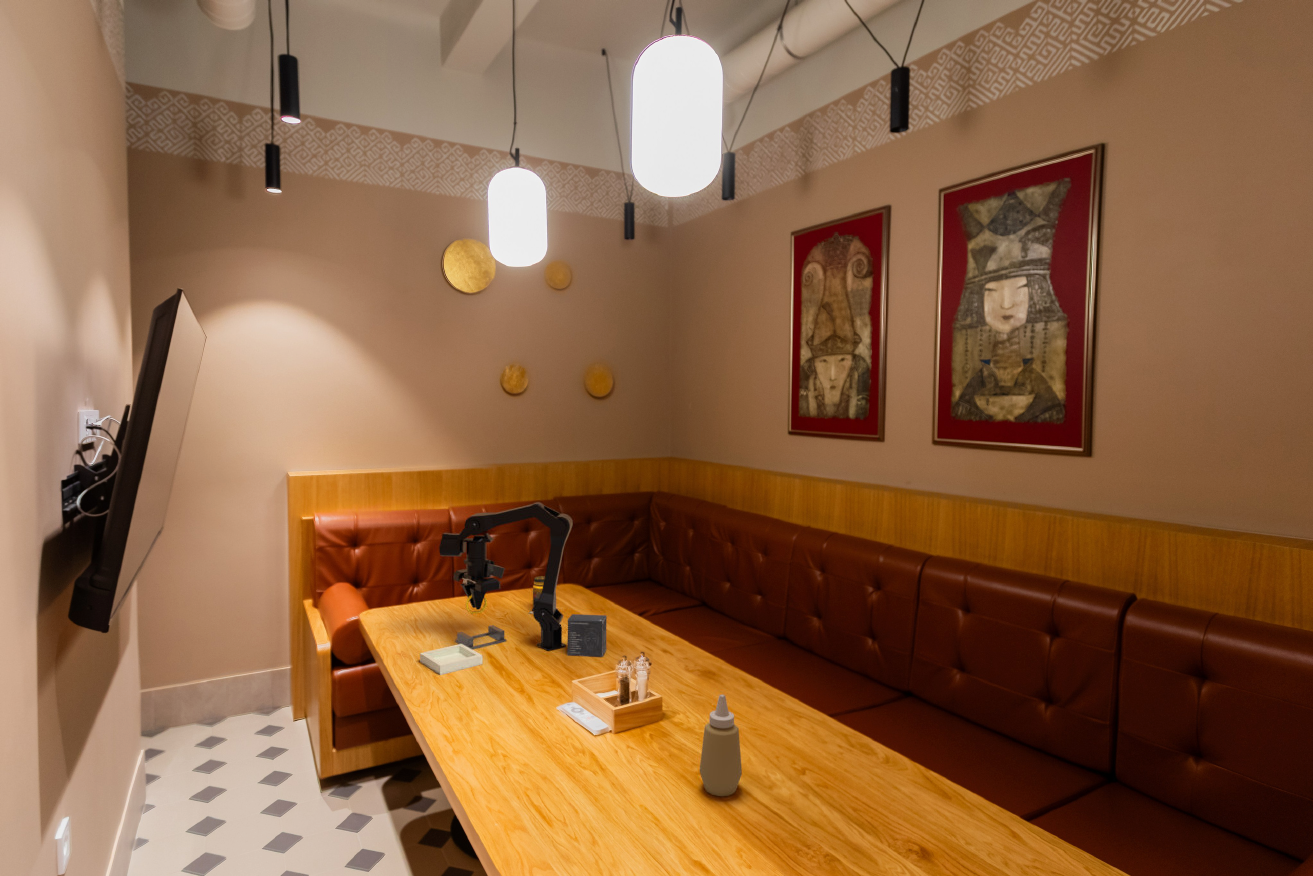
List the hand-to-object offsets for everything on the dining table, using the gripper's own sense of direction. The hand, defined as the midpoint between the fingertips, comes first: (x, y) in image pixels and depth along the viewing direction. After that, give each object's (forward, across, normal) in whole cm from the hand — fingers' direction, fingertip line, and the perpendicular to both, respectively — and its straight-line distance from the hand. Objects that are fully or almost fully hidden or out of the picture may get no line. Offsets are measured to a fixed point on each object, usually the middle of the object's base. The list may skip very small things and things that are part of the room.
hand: (476, 608), depth 214 cm
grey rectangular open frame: (+11, +2, -2) cm, 11 cm away
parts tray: (+11, -10, +12) cm, 19 cm away
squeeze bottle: (+11, -102, +1) cm, 103 cm away
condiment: (+11, +18, -34) cm, 40 cm away
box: (+11, -26, -22) cm, 36 cm away
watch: (+1, 0, 0) cm, 1 cm away
